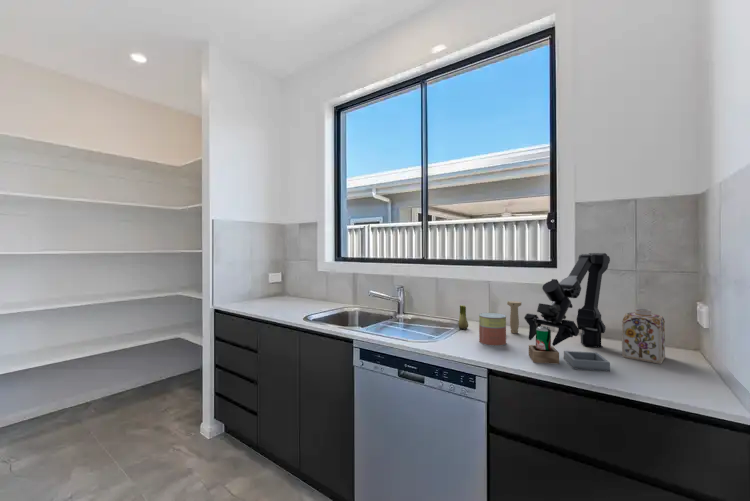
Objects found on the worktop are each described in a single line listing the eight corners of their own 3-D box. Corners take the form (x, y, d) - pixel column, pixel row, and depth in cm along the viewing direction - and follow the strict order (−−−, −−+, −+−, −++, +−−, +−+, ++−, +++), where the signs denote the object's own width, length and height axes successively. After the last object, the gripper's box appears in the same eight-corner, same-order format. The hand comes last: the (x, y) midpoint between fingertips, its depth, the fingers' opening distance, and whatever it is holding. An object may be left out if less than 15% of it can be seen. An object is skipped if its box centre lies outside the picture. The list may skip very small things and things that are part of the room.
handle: (520, 334, 162) (520, 303, 162) (506, 333, 166) (506, 302, 166) (522, 332, 166) (522, 301, 166) (508, 331, 170) (508, 300, 170)
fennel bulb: (458, 327, 179) (458, 304, 179) (468, 327, 178) (468, 304, 178) (458, 329, 174) (458, 306, 173) (468, 330, 172) (468, 306, 172)
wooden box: (552, 356, 129) (552, 346, 129) (559, 364, 121) (559, 352, 121) (528, 355, 131) (528, 344, 131) (533, 362, 123) (533, 351, 123)
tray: (596, 360, 124) (596, 352, 124) (610, 371, 114) (609, 362, 114) (563, 358, 127) (563, 350, 127) (573, 368, 116) (573, 360, 116)
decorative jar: (627, 350, 136) (627, 305, 136) (665, 357, 128) (665, 309, 128) (621, 357, 128) (621, 309, 128) (661, 364, 120) (661, 313, 120)
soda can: (532, 358, 128) (532, 326, 127) (542, 356, 130) (542, 325, 129) (544, 362, 123) (544, 329, 123) (554, 360, 125) (554, 327, 125)
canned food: (508, 341, 151) (508, 314, 151) (503, 347, 142) (503, 318, 142) (482, 337, 157) (482, 311, 157) (475, 343, 148) (475, 316, 148)
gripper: (526, 293, 136) (509, 323, 130) (574, 298, 120) (556, 334, 114) (539, 310, 140) (522, 341, 135) (586, 318, 124) (569, 353, 119)
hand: (540, 342), depth 125 cm, fingers open, 9 cm apart
